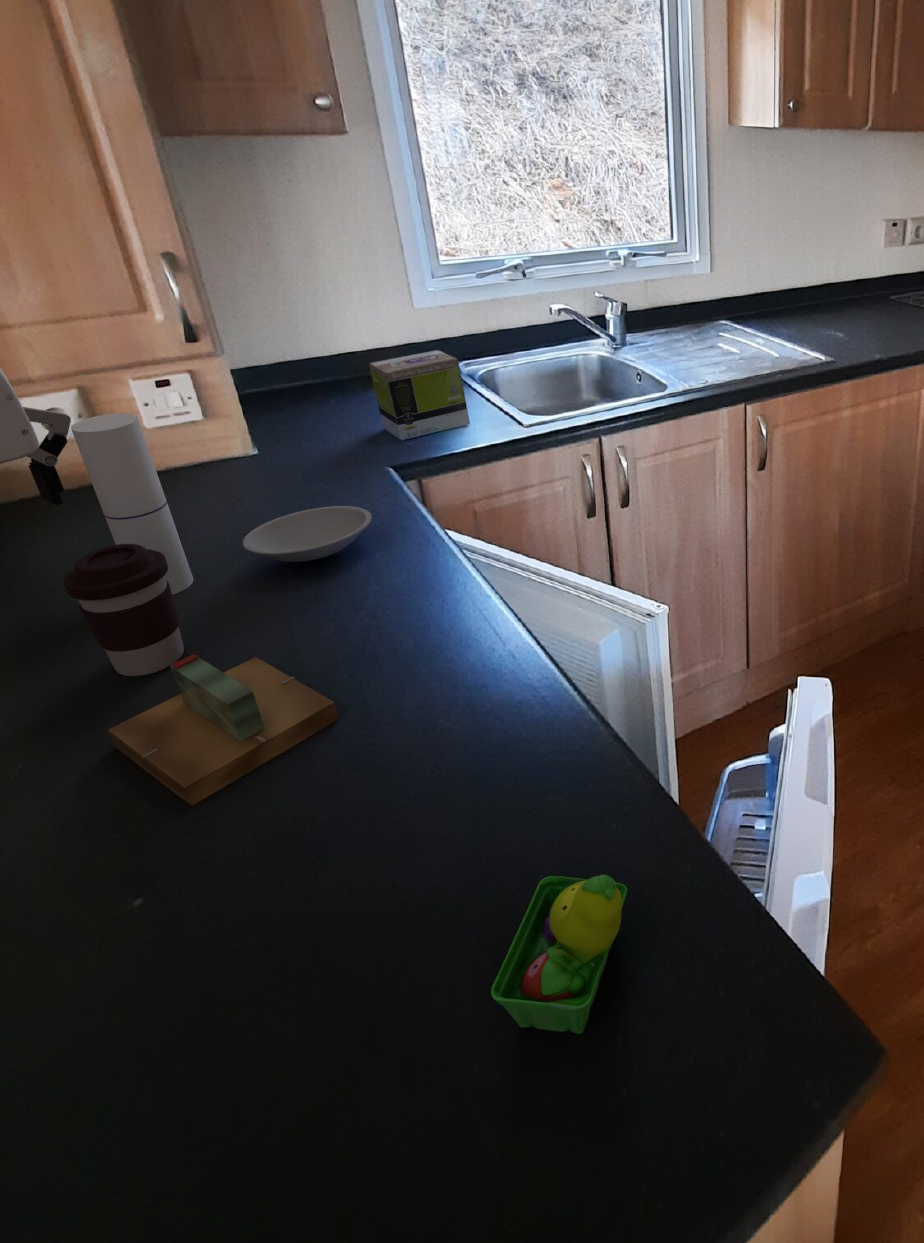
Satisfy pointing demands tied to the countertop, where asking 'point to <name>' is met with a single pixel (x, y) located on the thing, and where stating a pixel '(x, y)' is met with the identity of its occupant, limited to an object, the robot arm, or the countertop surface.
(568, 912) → the fruit basket
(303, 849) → the countertop surface
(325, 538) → the dish
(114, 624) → the coffee cup
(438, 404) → the tea box
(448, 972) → the countertop surface
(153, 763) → the base
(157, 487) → the cylindrical container
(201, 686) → the green rectangular block
